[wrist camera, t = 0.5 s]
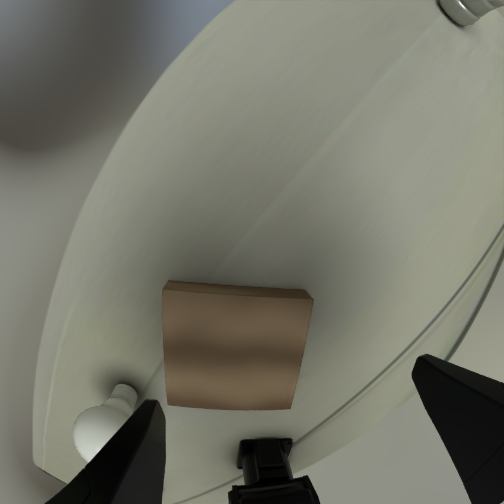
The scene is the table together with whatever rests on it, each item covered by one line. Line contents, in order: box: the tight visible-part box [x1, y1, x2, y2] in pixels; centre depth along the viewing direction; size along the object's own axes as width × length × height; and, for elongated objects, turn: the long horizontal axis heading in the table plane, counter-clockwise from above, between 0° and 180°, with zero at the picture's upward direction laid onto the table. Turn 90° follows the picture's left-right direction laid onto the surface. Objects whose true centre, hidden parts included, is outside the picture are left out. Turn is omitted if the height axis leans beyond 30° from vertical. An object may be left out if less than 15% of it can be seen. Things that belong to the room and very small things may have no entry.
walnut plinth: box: [162, 280, 314, 410], centre depth 23 cm, size 12×12×2 cm
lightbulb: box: [73, 384, 137, 463], centre depth 19 cm, size 6×6×11 cm
